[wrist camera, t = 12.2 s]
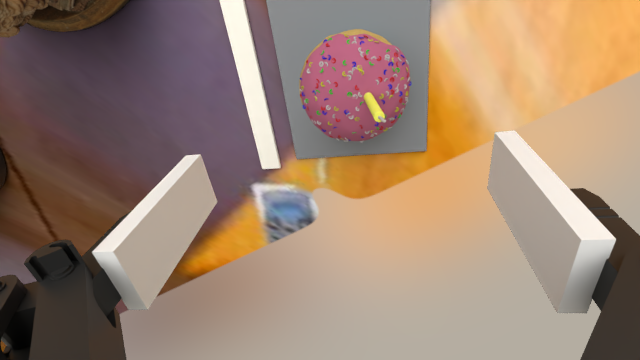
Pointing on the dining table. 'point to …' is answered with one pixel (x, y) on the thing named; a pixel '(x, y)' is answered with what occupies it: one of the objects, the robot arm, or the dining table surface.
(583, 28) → the dining table surface
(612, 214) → the robot arm
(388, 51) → the cupcake
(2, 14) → the owl figurine
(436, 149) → the dining table surface
